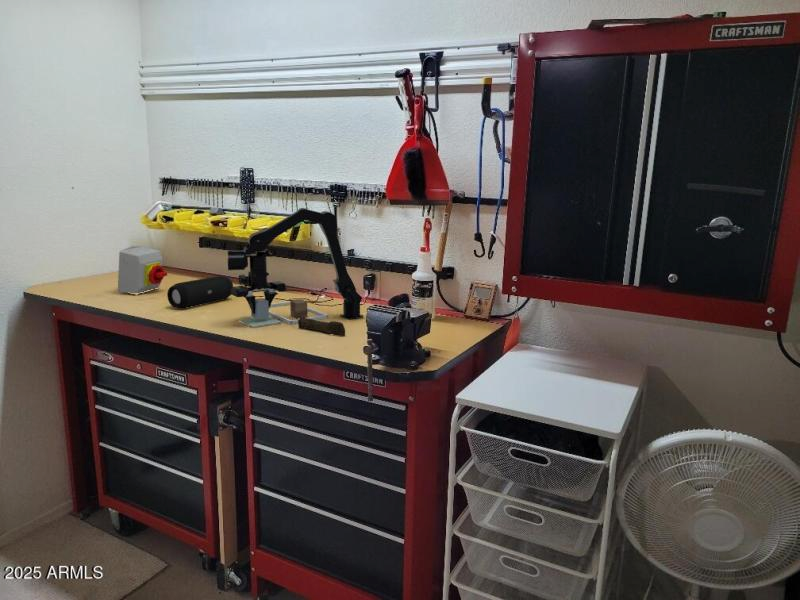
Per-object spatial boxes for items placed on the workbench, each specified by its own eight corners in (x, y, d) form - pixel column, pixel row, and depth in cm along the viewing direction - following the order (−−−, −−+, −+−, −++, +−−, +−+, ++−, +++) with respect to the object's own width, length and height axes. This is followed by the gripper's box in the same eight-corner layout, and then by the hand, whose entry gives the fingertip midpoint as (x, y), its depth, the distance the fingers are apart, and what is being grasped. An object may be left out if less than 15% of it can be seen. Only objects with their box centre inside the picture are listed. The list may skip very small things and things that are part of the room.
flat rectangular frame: (328, 318, 216) (328, 315, 216) (290, 324, 207) (290, 321, 206) (291, 303, 237) (291, 300, 237) (255, 309, 227) (255, 306, 227)
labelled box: (268, 317, 208) (268, 300, 207) (257, 319, 205) (256, 301, 204) (263, 314, 211) (262, 297, 210) (251, 316, 209) (250, 299, 207)
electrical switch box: (147, 301, 245) (150, 255, 240) (117, 294, 248) (119, 247, 243) (170, 294, 259) (172, 250, 254) (140, 287, 262) (143, 243, 257)
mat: (281, 323, 208) (281, 321, 208) (252, 328, 201) (252, 326, 201) (267, 316, 216) (267, 315, 216) (239, 321, 210) (238, 319, 209)
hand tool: (297, 329, 202) (296, 316, 201) (305, 326, 205) (305, 313, 204) (339, 339, 192) (339, 325, 191) (347, 336, 195) (347, 322, 194)
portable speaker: (183, 311, 222) (181, 285, 220) (166, 308, 227) (164, 282, 225) (235, 300, 243) (234, 276, 241) (219, 296, 248) (218, 273, 246)
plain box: (307, 317, 217) (307, 301, 216) (296, 319, 214) (296, 303, 213) (301, 314, 220) (301, 299, 219) (290, 316, 218) (290, 300, 216)
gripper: (272, 263, 216) (273, 305, 220) (223, 268, 205) (225, 312, 208) (286, 268, 208) (287, 310, 211) (236, 273, 196) (238, 318, 200)
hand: (260, 312), depth 208 cm, fingers closed on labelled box, 4 cm apart
